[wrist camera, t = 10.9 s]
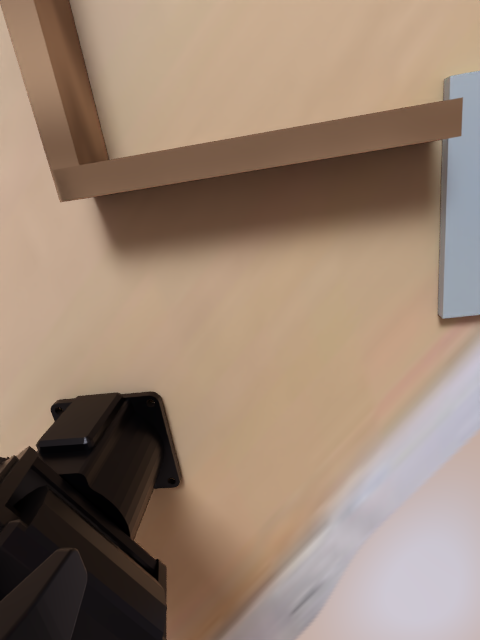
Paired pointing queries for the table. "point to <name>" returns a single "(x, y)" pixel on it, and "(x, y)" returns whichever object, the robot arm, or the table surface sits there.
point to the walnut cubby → (185, 162)
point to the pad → (461, 205)
